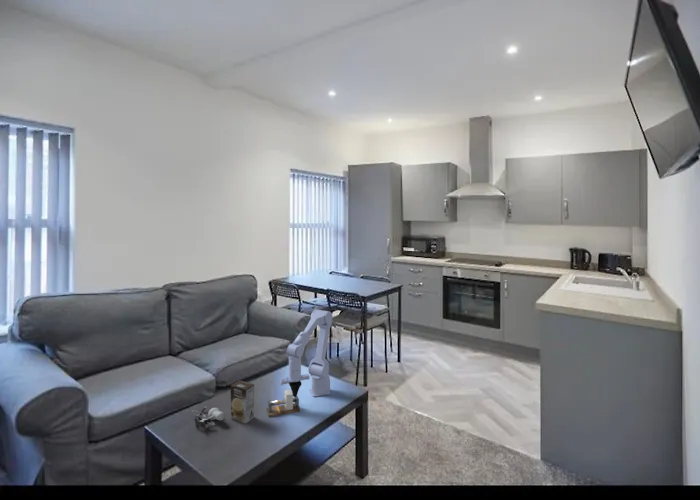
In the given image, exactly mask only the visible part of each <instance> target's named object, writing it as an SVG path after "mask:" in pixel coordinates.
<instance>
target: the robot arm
mask: <svg viewBox="0 0 700 500" xmlns="http://www.w3.org/2000/svg"><path fill="white" fill-rule="evenodd" d="M333 317H334V316H333V313H332V312H331V311H330V310H329V311H328V310H324V309H323V310H321V309H317V308H314V309H313V310H312V312H311V314H310V319H309V322H308V323H307V325H306V326H305V328H304V330H303V331H301V332H299V334H298V335H297V337H296V338H295V340H293V342H292V343H289V344H288V346H287V348H286V351H285V353H286V355H287V359H288V376H287V377H284V378H282V379H280V380H279V385H280V386H283V385H287V384H288V385H289V387H290V390H291V391H292V393H293V398H295V397H297V396H298V393H299V390H300V388H301V386H302V381H304V380H310V377H311V389H309V392H310V394H311V395H312V397H313V398H315V397H321V396H327V395H328V396H329V395H331V377H330V375H329V373H330V363H329V362H328V360H327V359H326V355H327V349H328V344H329V343H328V341H329V337H330V330H331V327H332V324H333ZM317 327H319V330H318V331H319V332H318V338H317V345H316V351H315V357H314V358H312V359H311V360H310V363H309V365H308V368H307V369H308V370H307V371H308V373H306V374H302V356H303V355H304V352H305V351H304V350H305V346H306V345H307V344H308V343H309V341H310V339H311V337H310V335H311V334H312V333H313V331H314V330H315V329H316V328H317Z"/></svg>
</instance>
